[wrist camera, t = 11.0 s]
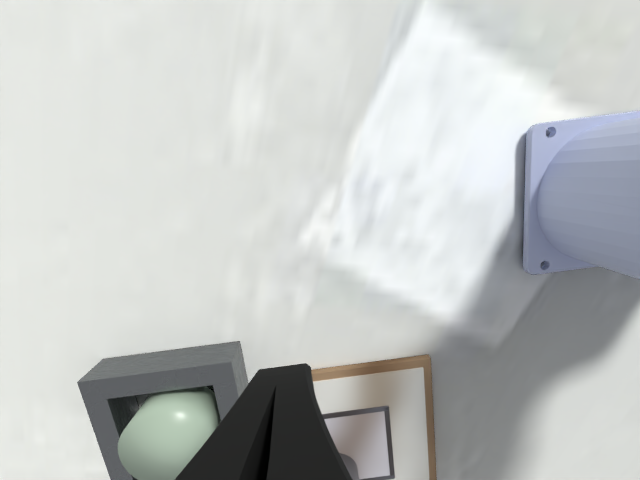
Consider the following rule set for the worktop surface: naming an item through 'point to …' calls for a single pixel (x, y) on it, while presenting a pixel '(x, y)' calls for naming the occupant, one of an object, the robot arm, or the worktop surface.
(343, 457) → the marker
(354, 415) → the wooden framed board
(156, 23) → the worktop surface
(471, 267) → the worktop surface
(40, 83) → the worktop surface
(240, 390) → the button housing
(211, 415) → the button
